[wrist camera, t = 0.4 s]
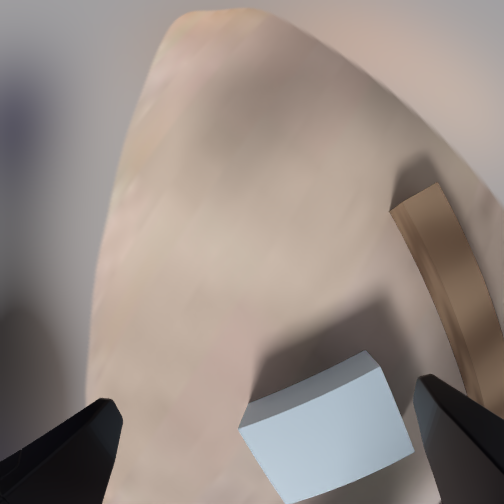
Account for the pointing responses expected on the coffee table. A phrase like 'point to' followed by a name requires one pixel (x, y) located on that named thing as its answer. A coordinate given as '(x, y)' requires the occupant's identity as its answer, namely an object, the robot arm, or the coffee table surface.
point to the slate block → (326, 430)
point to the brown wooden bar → (456, 292)
